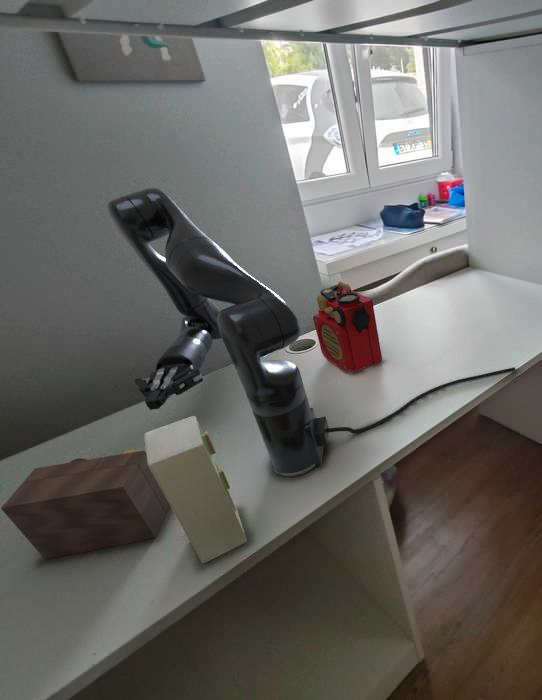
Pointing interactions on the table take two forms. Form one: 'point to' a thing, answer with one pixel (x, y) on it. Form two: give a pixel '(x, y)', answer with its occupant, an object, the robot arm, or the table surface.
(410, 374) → the table surface
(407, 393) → the table surface
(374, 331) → the radio
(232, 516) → the toy refrigerator
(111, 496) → the control box
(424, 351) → the table surface
